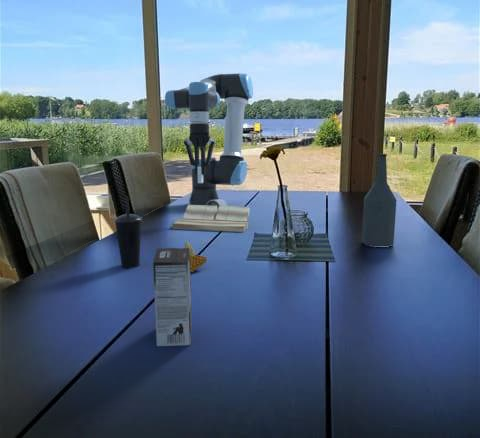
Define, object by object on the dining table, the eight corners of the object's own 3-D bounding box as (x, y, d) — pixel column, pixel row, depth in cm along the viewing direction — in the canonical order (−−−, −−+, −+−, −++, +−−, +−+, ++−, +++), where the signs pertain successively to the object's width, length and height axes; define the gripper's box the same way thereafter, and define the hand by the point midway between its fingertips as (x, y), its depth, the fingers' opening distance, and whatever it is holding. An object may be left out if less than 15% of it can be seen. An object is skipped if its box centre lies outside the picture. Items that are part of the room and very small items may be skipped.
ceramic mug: (229, 215, 200) (228, 197, 198) (220, 218, 193) (219, 200, 191) (208, 213, 204) (208, 196, 203) (199, 216, 197) (198, 199, 196)
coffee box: (159, 325, 91) (156, 247, 87) (192, 324, 91) (190, 246, 88) (155, 347, 82) (151, 261, 78) (191, 345, 82) (188, 260, 79)
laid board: (180, 223, 183) (179, 218, 182) (248, 226, 177) (248, 221, 177) (172, 228, 174) (172, 223, 173) (243, 231, 168) (243, 226, 168)
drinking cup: (149, 262, 131) (146, 194, 127) (135, 270, 124) (131, 198, 120) (126, 260, 134) (122, 193, 130) (111, 268, 127) (106, 197, 123)
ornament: (203, 258, 119) (204, 233, 133) (164, 266, 120) (169, 240, 133) (209, 279, 122) (210, 252, 136) (171, 287, 122) (176, 260, 136)
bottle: (394, 249, 145) (401, 154, 139) (363, 247, 147) (368, 154, 141) (390, 241, 155) (396, 152, 148) (361, 239, 157) (366, 152, 150)
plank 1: (188, 208, 190) (187, 204, 188) (217, 209, 187) (217, 205, 186) (183, 222, 183) (182, 218, 182) (213, 223, 181) (212, 219, 180)
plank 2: (220, 209, 187) (219, 205, 186) (249, 210, 185) (249, 206, 183) (215, 223, 181) (215, 219, 179) (246, 224, 178) (245, 220, 177)
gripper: (180, 123, 175) (182, 183, 180) (213, 122, 173) (213, 184, 178) (186, 123, 183) (187, 181, 187) (217, 123, 180) (218, 182, 185)
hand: (200, 182), depth 182 cm, fingers closed
